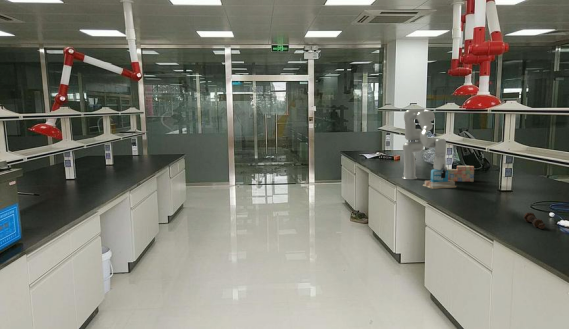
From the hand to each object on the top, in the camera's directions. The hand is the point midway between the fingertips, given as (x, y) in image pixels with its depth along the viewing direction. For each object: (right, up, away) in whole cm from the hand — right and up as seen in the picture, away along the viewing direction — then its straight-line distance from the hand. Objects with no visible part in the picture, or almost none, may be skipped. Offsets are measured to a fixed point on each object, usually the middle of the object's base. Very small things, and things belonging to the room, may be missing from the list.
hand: (439, 177), depth 315 cm
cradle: (0, -7, +1) cm, 7 cm away
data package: (0, -6, +1) cm, 7 cm away
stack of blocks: (+25, -4, +23) cm, 34 cm away
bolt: (+8, -22, -106) cm, 109 cm away
